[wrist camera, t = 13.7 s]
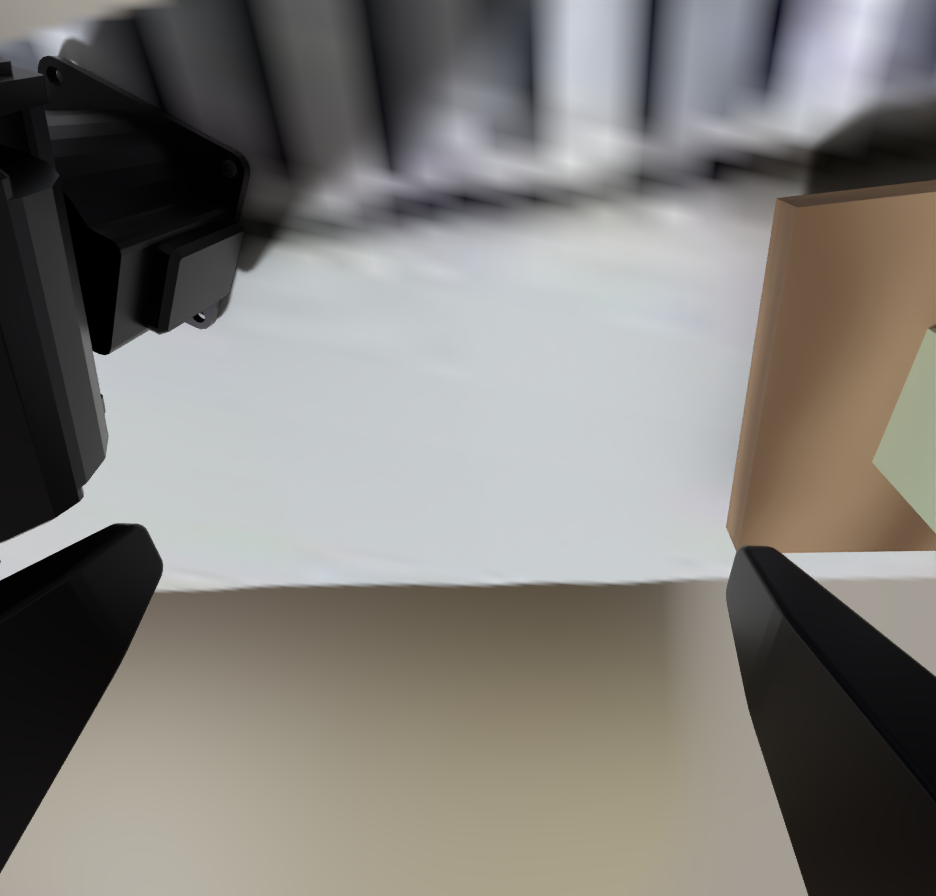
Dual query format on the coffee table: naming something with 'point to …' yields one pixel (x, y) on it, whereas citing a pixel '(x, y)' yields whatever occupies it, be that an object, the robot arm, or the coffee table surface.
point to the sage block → (914, 436)
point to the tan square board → (835, 371)
